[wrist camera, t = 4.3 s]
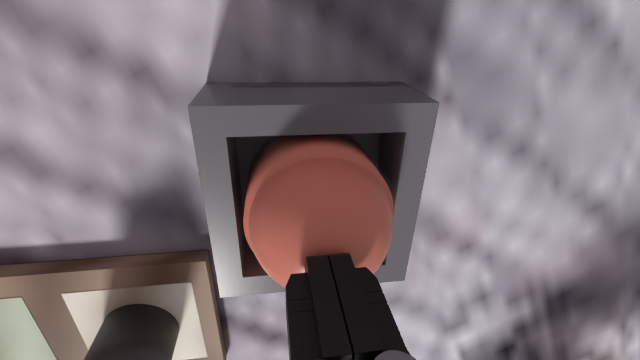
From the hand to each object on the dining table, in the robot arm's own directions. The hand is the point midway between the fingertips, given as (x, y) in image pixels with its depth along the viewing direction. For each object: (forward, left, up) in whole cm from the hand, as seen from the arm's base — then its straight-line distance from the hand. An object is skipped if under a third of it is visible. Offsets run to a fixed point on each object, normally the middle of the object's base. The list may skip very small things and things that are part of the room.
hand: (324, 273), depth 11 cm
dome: (0, 0, -6) cm, 6 cm away
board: (+15, +10, -8) cm, 19 cm away
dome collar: (0, 0, -8) cm, 8 cm away
